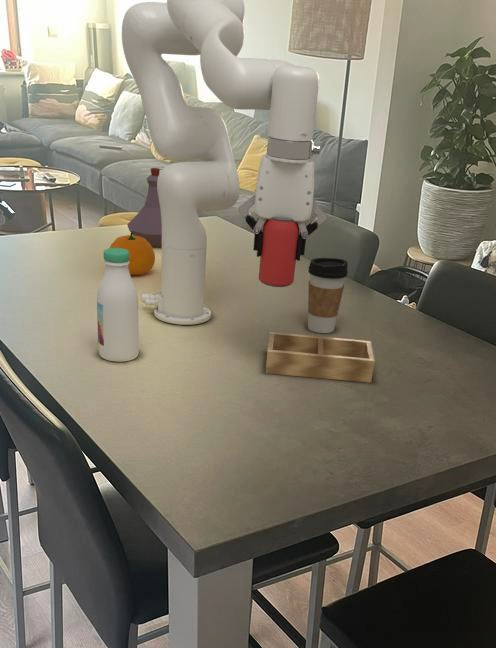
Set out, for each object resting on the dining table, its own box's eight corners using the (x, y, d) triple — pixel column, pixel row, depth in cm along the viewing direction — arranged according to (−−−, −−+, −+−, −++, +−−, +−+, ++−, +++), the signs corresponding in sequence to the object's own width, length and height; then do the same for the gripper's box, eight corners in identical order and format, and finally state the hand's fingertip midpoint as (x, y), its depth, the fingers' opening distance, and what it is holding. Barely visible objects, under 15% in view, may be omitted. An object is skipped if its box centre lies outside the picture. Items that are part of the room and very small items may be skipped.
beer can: (256, 276, 146) (262, 209, 139) (290, 278, 147) (298, 212, 140) (260, 287, 140) (266, 218, 134) (295, 289, 141) (303, 221, 135)
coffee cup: (337, 337, 169) (347, 268, 160) (299, 332, 170) (306, 262, 161) (341, 325, 175) (350, 258, 167) (304, 320, 177) (312, 253, 168)
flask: (118, 246, 217) (116, 170, 206) (135, 233, 231) (135, 161, 220) (175, 253, 216) (176, 176, 205) (189, 240, 229) (191, 167, 218)
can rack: (265, 373, 149) (267, 351, 146) (267, 353, 158) (269, 331, 155) (371, 383, 149) (374, 360, 146) (367, 362, 158) (370, 341, 155)
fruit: (164, 272, 200) (164, 232, 194) (134, 281, 191) (134, 240, 186) (129, 262, 205) (128, 223, 199) (98, 271, 196) (97, 230, 191)
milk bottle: (145, 352, 153) (145, 249, 142) (127, 365, 147) (125, 258, 136) (110, 345, 155) (107, 242, 144) (91, 358, 149) (86, 251, 138)
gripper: (338, 151, 134) (324, 255, 144) (239, 141, 134) (231, 246, 144) (341, 158, 128) (326, 267, 138) (236, 148, 128) (229, 258, 138)
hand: (278, 255), depth 141 cm, fingers closed on beer can, 6 cm apart
